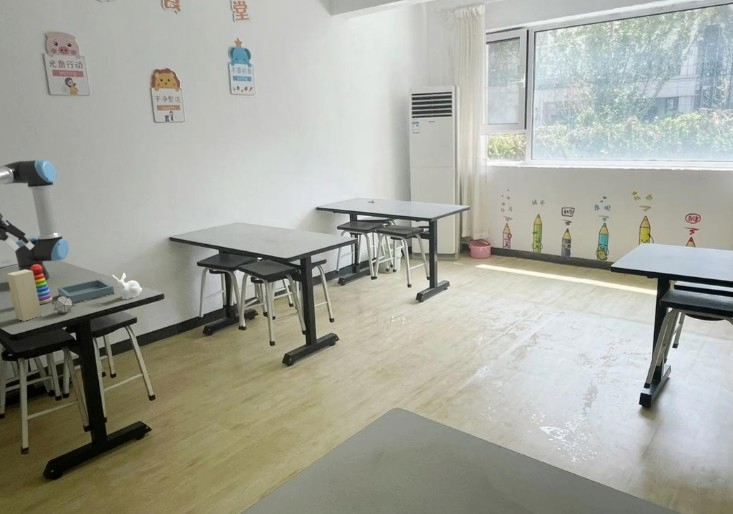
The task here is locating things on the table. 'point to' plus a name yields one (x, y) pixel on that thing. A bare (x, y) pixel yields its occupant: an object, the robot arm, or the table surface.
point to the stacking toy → (41, 285)
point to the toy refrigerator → (24, 294)
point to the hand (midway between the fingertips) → (24, 248)
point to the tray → (86, 290)
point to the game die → (63, 304)
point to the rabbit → (127, 287)
